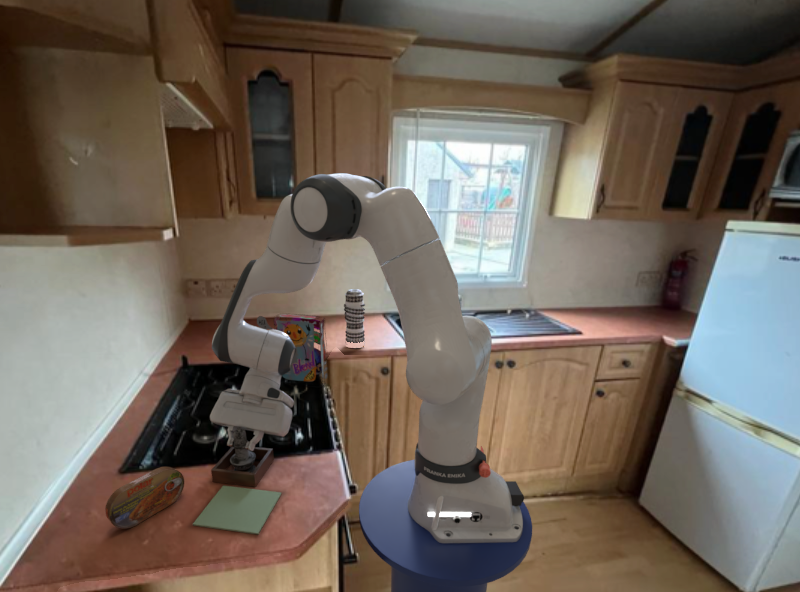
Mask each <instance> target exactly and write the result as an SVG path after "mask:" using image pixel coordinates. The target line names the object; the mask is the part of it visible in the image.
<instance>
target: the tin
mask: <svg viewBox="0 0 800 592" xmlns="http://www.w3.org/2000/svg"><path fill="white" fill-rule="evenodd" d="M184 488H185V477H184V475H183V474H182V472H181V471H180V470H178V469H175V468H173V467H171V466H160V467H157V468H155V469H153V470H151V471H149V472H147V473H145V474H143V475H142V476H139V477H138V478H135V479H134V480H131V481H130V482H128V483H125V484H124V485H122V486H120V487H118V488H117V489H116V490H114V492H112V494H111V495H110V496H109V498H108V499H107V501H106V503H105V510H104V511H105V516H106V518H107V520H108V521H109V522H110V523H111V525H113V526H114V527H115V528H118V529H123V530H125V529H130V528H134V527H135V526H137V525H139V524H141V523H143V522H144V521H146V520H147V519H149V518H150V517H152V516H154V515H156V514H158V513H159V512H161V511H163V510H164V509H167V507H170V506H171V505H173V504H174V503H175V502H176V501H177V500H178V499H179V498H180V497H181V496H182V493H183V491H184Z"/></svg>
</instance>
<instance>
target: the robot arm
mask: <svg viewBox="0 0 800 592" xmlns="http://www.w3.org/2000/svg"><path fill="white" fill-rule="evenodd" d="M358 238H363V239H364V240H366V241H367V242H368V244H369V245H370V246H371V248H372V250H373V253H374V255H375V257H376V260H377V262H378V265H379V266H380V270H381V271H382V273H383V276H384V278H385V282H386V283H387V285H388V288H389V290H390V293H391V295H392V297H393V300H394V302H395V305H396V308H397V312H398V315H399V318H400V324H401V329H402V335H403V339H404V346H405V351H406V366H405V367H406V368H405V378H406V382H407V385H408V387H409V389H410V390H411V391H412V393H413V394H414V395H415V396H416V397H417V398H419V399H420V400H421V404H420V407H419V411H418V435H417V439H418V440H417V443H416V446H415V451H414V460H415V463H414V469H415V474H416V475H415V481H414V486H413V489H412V493H411V495H410V498H409V500H408V510H409V513H410V515H411V517H412V518H413V519H414V520H415V521H416V522H417V523H418V524H419V525H420V526H422V527H423V528H425V529H426V530H428V531H429V532H430V533H431V535H432V536H433V537H434V538H435V540H436V541H438V542H439V543H497V542H517V541H518V540H519V538H520V537H521V535H522V531H523V519H522V513H521V510H520V507H519V506H521V504H522V502H524V501H525V496H524V493H523V492H522V490H521V488H520V487H519V484H518V482H517V481H516V480H513V481H511V480H509V481H506V479H504V477H503V475H501V474H499V473H498V472H496V471H495V470H494V469H492V468H491V466H490V464H488V463H487V455H486V453H485V450H484V448H483V446H482V445H480V449H479V448H478V447H477V446H478V436H479V426H480V418H481V412H482V407H483V401H484V397H485V391H486V384H487V380H488V372H489V367H490V362H491V361H490V360H491V354H492V343H493V342H492V340H493V339H492V334H491V330H490V328H489V327H488V326H487V324H486V323H485V322H484V321H483V320H482V319H480V318H478V317H475V316H473V315H463V312H462V307H461V301H460V297H459V284H458V280H457V278H456V275H455V272H454V270H453V268H452V264H451V262H450V260H449V257H448V255H447V253H446V250H445V248H444V246H443V243H442V241H441V239H440V234H439V233H438V231H437V229H436V226H435V224H434V222H433V221H432V219H431V217H430V215H429V213H428V211H427V210H426V208H425V206H424V205H423V203H422V202H421V199H419V197H418V196H417V194H416V193H415V192H414V191H413V190H412V189H411V188H409V187H405V186H390V187H388V188H387V187H386V186H385V184H384V183H382V182H381V181H380V180H378V179H376V178H374V177H371V176H368V175H356V174H355V175H354V174H350V173H346V172H345V173H342V172H339V173H330V174H324V173H320V174H319V173H318V174H315V175H311V176H309V177H306V178H305V179H303V180H302V181H300V182H299V183H298V184H297V186H296V187H295V188H294V190H293V192H292V193H291V194H288V195H286V196H285V197H284V198H283V199H282V200H281V202H280V204H279V206H278V208H277V211H276V213H275V216H274V218H273V221H272V224H271V227H270V231H269V234H268V238H267V242H266V247H265V249H264V252H263V253H262V255H260V257H259V258H257V259H252V260H249V262H248V263H247V264H246V265H245V267H244V268H243V270H242V272H241V273H240V275H239V278H238V280H237V283H236V285H235V287H234V290H233V292H232V294H231V297H230V299H229V302H228V305H227V307H226V309H225V312H224V314H223V317H222V320H221V321H220V324H219V325H218V327H217V328H216V329H215V331H214V334H213V336H212V342H211V349H212V352H213V353H214V355H215V356H216V358H217V359H218V360H219V361H220V362H223V363H229V364H234V365H235V364H236V365H240V366H243V367H246V368H249V370H248V371H247V372H246V374H245V375H244V378H243V381H242V384H241V387H240V389H233V388H227V389H225V390H223V391H221V393H219V396H218V399H217V401H216V402H215V404H214V406H213V408H212V409H211V412H210V414H209V420H210V422H211V423H213V424H215V425H218V426H222V427H226V428H227V436H228V440H227V442H226V446H228V447H230V448H231V447H233V444H234V436H233V434H234V432H235V431H236V430H238V429H237V428H238V427H240V429H243V430H245V431H249V432H253V435H254V436H253V437H252V439H250V441H249V440H247V442H246V446H245V449H246V450H250V451H253V450H254V448H255V447H256V445H257V444H258V443H259V442H260V441H261V440H262V439H263V438H264V435H265V434H266V435H270V436H271V435H272V436H278V437H282V438H283V437H285V436H286V435H288V433H289V431H290V428H291V424H292V420H293V410H292V409H291V408H293V407H294V405H295V401H294V399H293V398H292V397H291V396H289V394H287V393H286V392H284V391H283V390H281V389H280V387H281V381H282V378H283V376H282V375H284V374H286V373H287V372H289V371H290V366H291V363H292V360H293V358H294V356H295V353H296V348H295V346H294V344H293V342H292V340H291V339H290V337H289V336H288V335H287V334H285V333H284V332H282V331H279V330H274V328H273V329H263V328H260V327H259V326H256V325H252V324H250V323H247V322H246V321H245V320H244V318H245V315H246V313H247V311H248V308H249V306H250V304H251V302H252V299H253V298H254V297H257V296H261V295H269V294H290V293H291V294H292V293H296V292H299V291H301V290H303V289H305V288H307V287H308V286H310V285H311V283H312V282H313V281H314V279H315V277H316V275H317V272H318V271H319V268H320V264H321V262H322V257H323V254H324V250H325V247H326V244H327V243H329V242H330V243H331V242H336V241H342V240H353V239H358ZM448 536H449V537H448Z"/></svg>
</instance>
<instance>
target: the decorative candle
mask: <svg viewBox="0 0 800 592" xmlns="http://www.w3.org/2000/svg"><path fill="white" fill-rule="evenodd" d="M364 295H365V294H364V292H363V291H362V290H361V289H358V288H357V289H356V288H354V289H348V290H347V291H346V292H345V293H344V296H345V301H344V304H343V307H344V308H343V310H344V321H345V323H346V325H345V342H346V341H347V342H350V343H351V342H353V343H358V342H359V343H360V342H363V341H364V342H365V339H366V337H365V326H364V322H365V316H364V315H365V314H366V312H365V311H366V308H365V306H366V303H364Z"/></svg>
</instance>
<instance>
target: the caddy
mask: <svg viewBox="0 0 800 592" xmlns="http://www.w3.org/2000/svg"><path fill="white" fill-rule="evenodd" d="M249 451H250V450H249ZM252 452H254V453H255V455H256V458H255V460H256V461H260V462H259V463H258V464H257V465H256V466H255V467H256V469H255V470H254V471H253V473H250V472H241V471H233V470H231V469H228V468H229V467H230V466H231V465H232V463H231V462H230V458H231V457H232V456H233V455H234V454H235V448H234V447H230V448H229V449H228V450H227V451H226V452H225V454H224V455H223V456H222V457H221V458H220V459H219V460H218V461H217V462H216V464H215V465H214V466H213V467H212V468H211V470H210V473H211V479H212V483H219V484H228V485H236V486H244V487H245V486H246V487H253V488H257V486H258V485H259V482H261V480H262V478H263V477H264V476H265V474H266V472H267V471H268V469H269V468H270V466H271V465H272V463H273V462H274V461H275V456H274V448H269V447H258V446H257V447H256V446H255V448H254V450H253V451H252Z"/></svg>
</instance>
